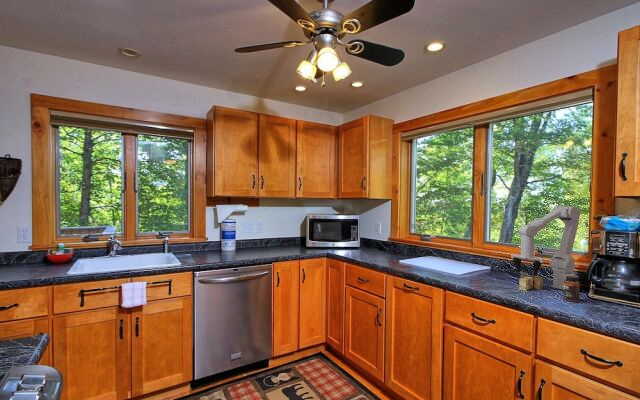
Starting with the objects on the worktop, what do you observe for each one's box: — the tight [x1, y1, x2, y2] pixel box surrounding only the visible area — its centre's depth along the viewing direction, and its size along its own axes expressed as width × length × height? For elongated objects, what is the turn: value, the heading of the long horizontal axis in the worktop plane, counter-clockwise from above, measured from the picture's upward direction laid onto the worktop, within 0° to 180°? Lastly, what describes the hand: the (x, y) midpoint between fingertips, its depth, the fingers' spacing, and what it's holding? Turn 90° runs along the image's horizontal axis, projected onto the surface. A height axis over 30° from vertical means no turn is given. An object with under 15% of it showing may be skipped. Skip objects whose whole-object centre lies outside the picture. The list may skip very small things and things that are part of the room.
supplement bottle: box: [562, 276, 581, 303], centre depth 145 cm, size 6×6×11 cm
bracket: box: [520, 272, 544, 290], centre depth 167 cm, size 9×4×7 cm, turn 36°
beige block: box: [518, 276, 534, 292], centre depth 163 cm, size 10×3×6 cm, turn 126°
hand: (526, 274), depth 163 cm, fingers open, 7 cm apart
